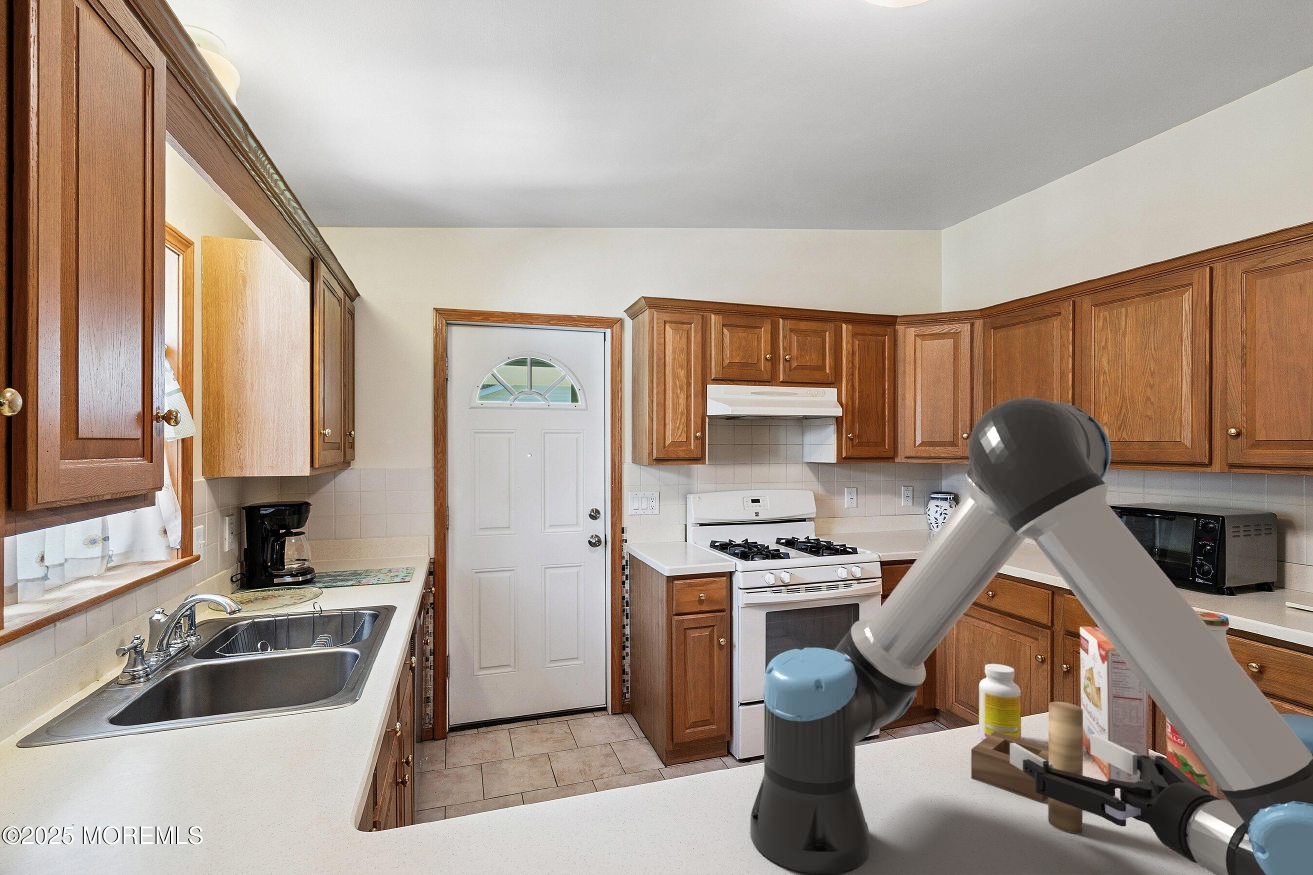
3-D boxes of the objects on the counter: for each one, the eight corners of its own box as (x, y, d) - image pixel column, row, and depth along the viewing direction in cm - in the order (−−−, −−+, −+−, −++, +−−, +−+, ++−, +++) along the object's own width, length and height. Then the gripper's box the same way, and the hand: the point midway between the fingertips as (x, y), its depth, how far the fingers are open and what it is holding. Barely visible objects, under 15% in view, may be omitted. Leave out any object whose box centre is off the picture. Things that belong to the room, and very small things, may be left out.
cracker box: (1078, 744, 117) (1078, 624, 118) (1118, 749, 115) (1117, 627, 116) (1105, 781, 104) (1104, 646, 104) (1151, 788, 102) (1150, 650, 102)
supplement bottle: (1028, 749, 115) (1028, 674, 115) (989, 748, 115) (989, 673, 115) (1009, 733, 122) (1009, 662, 122) (972, 732, 122) (972, 661, 122)
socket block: (1042, 802, 97) (1042, 771, 97) (971, 778, 104) (971, 748, 104) (1062, 779, 104) (1062, 750, 104) (994, 758, 111) (994, 731, 111)
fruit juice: (1260, 837, 89) (1258, 626, 89) (1171, 817, 94) (1170, 616, 94) (1243, 806, 97) (1241, 612, 97) (1162, 788, 102) (1161, 604, 102)
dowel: (1077, 836, 89) (1078, 715, 89) (1044, 823, 92) (1044, 706, 92) (1086, 824, 91) (1086, 707, 92) (1053, 812, 94) (1053, 699, 94)
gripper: (1118, 882, 70) (976, 784, 91) (1295, 851, 76) (1124, 766, 97) (1118, 810, 70) (976, 728, 91) (1294, 785, 76) (1124, 714, 97)
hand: (1052, 747), depth 94 cm, fingers open, 13 cm apart
